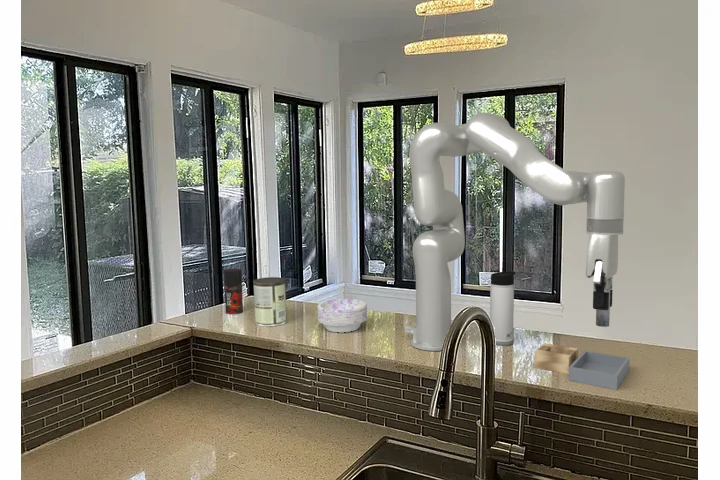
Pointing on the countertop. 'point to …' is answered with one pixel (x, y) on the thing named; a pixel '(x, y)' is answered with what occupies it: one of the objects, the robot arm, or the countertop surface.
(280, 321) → the coffee can
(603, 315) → the cylinder
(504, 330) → the travel mug
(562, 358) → the block
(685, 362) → the countertop surface
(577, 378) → the tray
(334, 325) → the paper bowls
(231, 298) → the deodorant
